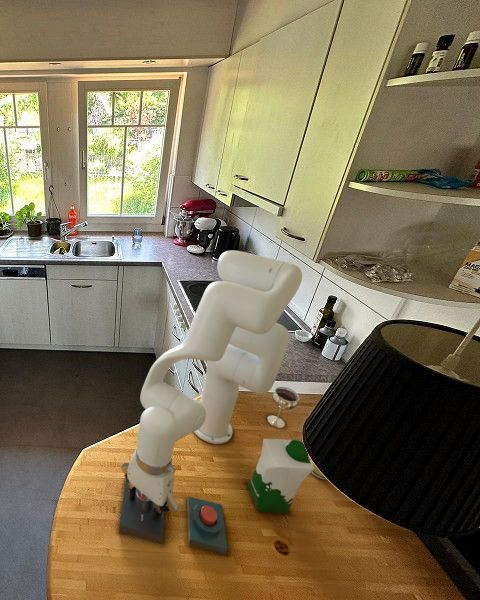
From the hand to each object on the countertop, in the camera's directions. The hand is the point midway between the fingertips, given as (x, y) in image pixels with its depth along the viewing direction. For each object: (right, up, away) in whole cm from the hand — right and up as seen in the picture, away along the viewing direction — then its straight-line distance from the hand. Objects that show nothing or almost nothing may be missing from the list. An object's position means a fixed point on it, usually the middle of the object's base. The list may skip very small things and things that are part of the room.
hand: (145, 504), depth 79 cm
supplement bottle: (+51, +2, +11) cm, 52 cm away
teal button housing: (+14, -4, -1) cm, 15 cm away
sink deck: (0, -3, +2) cm, 3 cm away
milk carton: (+33, -1, +5) cm, 33 cm away
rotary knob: (0, 0, +1) cm, 1 cm away
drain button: (+14, -1, -3) cm, 15 cm away
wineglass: (+48, +10, +27) cm, 56 cm away
